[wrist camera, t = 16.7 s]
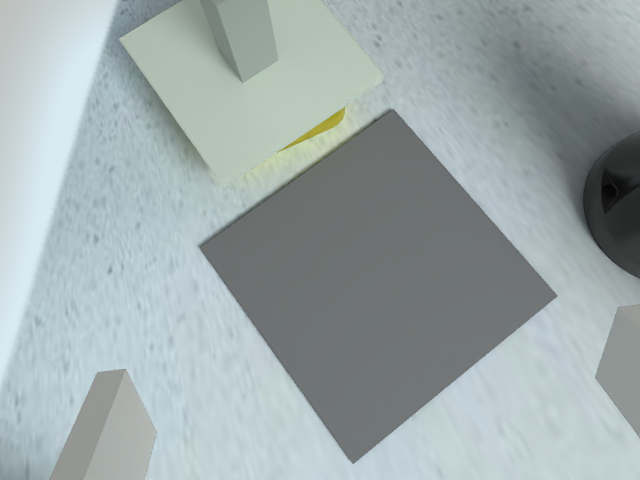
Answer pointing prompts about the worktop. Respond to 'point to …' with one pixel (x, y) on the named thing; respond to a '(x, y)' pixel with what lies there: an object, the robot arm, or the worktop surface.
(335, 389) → the rubber mat
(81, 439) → the robot arm
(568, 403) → the worktop surface
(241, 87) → the sage lid
